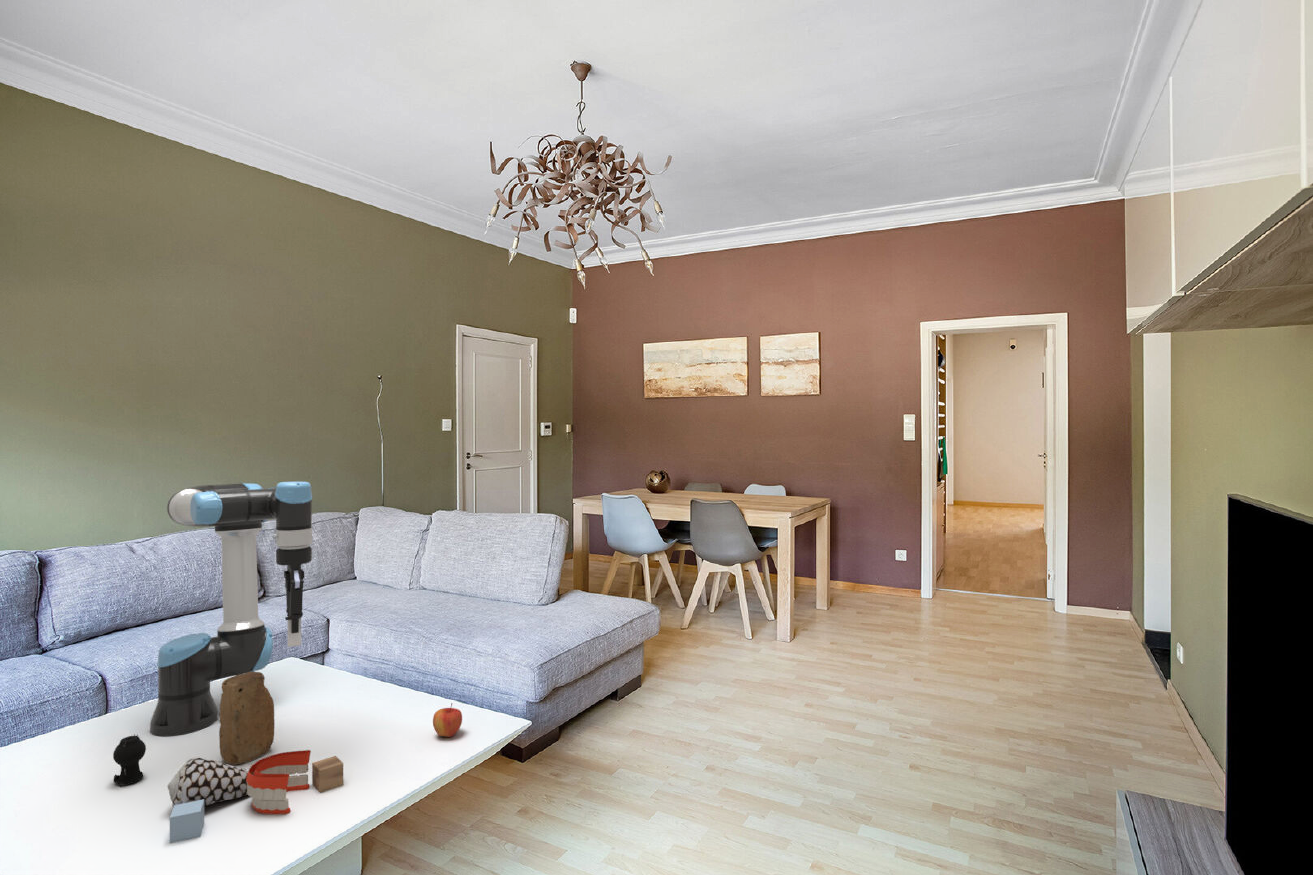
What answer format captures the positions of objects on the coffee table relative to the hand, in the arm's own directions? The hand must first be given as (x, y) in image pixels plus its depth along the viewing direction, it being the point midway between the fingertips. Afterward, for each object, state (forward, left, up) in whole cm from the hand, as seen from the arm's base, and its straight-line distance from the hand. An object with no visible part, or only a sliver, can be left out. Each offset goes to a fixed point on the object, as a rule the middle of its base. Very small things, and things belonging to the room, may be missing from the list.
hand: (294, 645), depth 164 cm
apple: (+5, +35, -29) cm, 45 cm away
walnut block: (+15, +5, -29) cm, 33 cm away
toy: (+16, -6, -29) cm, 33 cm away
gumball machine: (-12, -32, -29) cm, 45 cm away
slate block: (+20, -21, -29) cm, 41 cm away
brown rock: (-11, -9, -29) cm, 32 cm away
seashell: (+8, -16, -29) cm, 34 cm away
